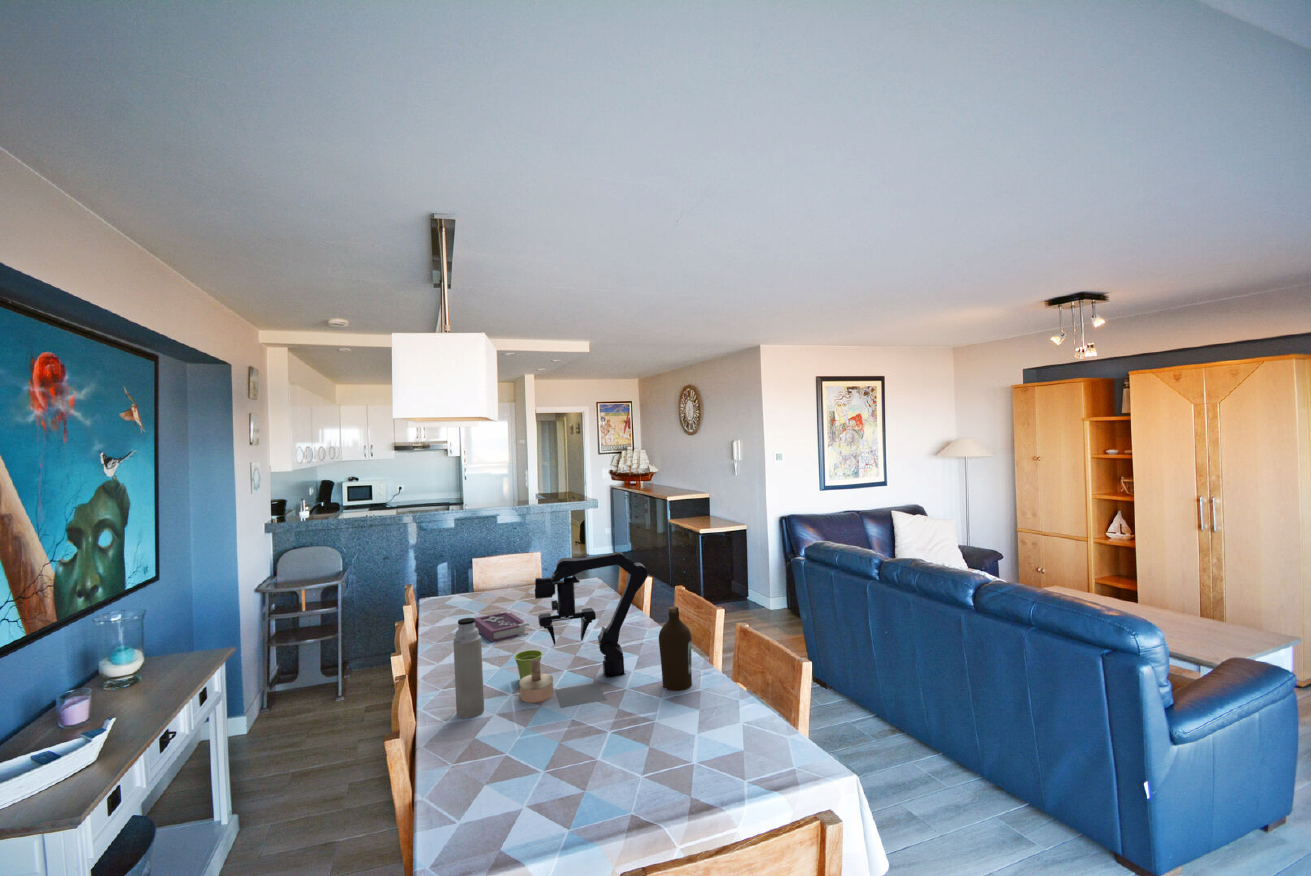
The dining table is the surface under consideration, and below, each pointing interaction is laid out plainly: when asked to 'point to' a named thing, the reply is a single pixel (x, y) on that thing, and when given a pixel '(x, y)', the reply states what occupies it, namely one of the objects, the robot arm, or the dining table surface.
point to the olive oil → (675, 653)
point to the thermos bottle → (468, 670)
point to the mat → (580, 695)
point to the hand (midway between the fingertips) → (568, 642)
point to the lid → (536, 678)
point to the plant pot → (526, 661)
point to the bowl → (536, 694)
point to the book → (501, 626)
